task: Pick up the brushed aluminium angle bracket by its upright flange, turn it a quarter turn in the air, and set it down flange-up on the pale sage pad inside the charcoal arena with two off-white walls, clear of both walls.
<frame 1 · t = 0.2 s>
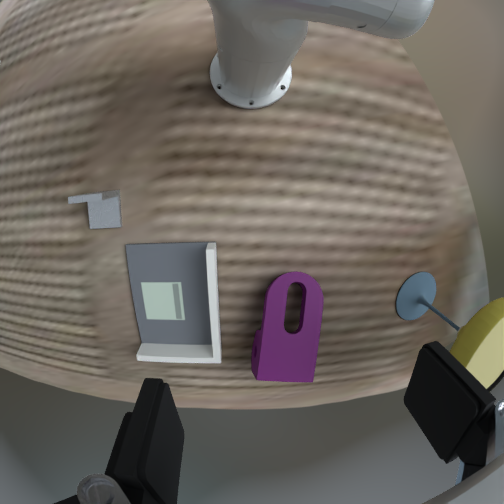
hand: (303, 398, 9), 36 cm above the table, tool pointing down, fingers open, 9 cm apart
arena: (175, 299, 46), on the table
mounting bracket: (284, 316, 49), on the table
cocktail glass: (416, 295, 50), on the table
angle bracket: (105, 209, 41), on the table
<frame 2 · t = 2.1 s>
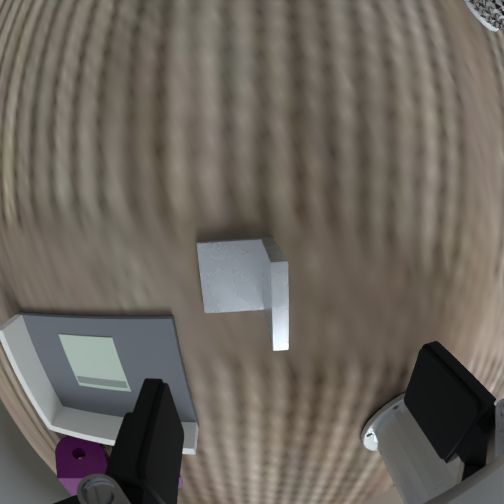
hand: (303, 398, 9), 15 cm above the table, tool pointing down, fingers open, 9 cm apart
arena: (101, 374, 25), on the table
mounting bracket: (125, 459, 31), on the table
angle bracket: (237, 274, 23), on the table
decorative candle: (478, 7, 16), on the table
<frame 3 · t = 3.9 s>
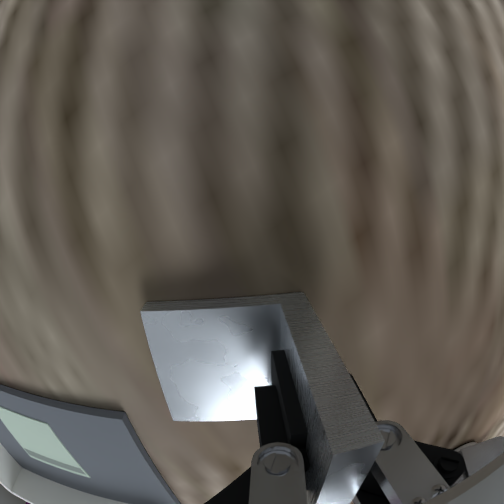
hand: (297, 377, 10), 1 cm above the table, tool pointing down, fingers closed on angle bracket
arena: (52, 452, 13), on the table
angle bracket: (230, 362, 11), on the table, touching gripper
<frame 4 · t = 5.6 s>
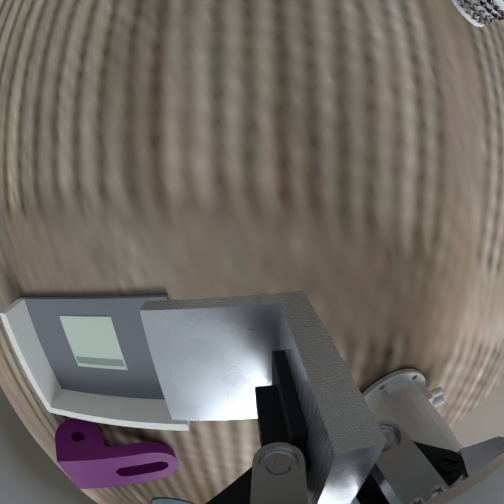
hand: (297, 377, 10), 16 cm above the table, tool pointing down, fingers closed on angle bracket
arena: (99, 354, 27), on the table
mounting bracket: (123, 442, 33), on the table
angle bracket: (229, 361, 11), point 15 cm above the table, touching gripper
decorative candle: (464, 4, 17), on the table
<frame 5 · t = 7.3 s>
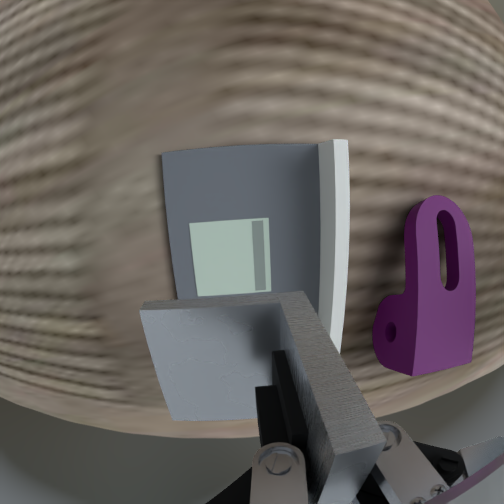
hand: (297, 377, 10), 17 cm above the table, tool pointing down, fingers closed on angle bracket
arena: (253, 255, 26), on the table
mounting bracket: (416, 272, 29), on the table
angle bracket: (229, 361, 11), point 16 cm above the table, touching gripper
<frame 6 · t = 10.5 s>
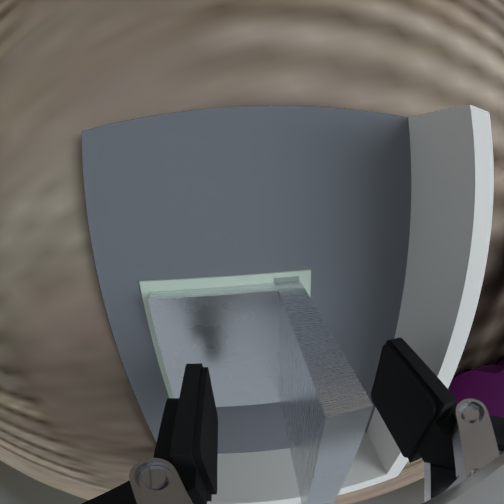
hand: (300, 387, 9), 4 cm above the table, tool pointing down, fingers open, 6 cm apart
arena: (273, 338, 13), on the table
mounting bracket: (499, 326, 15), on the table
angle bracket: (232, 348, 12), point 1 cm above the table, touching arena
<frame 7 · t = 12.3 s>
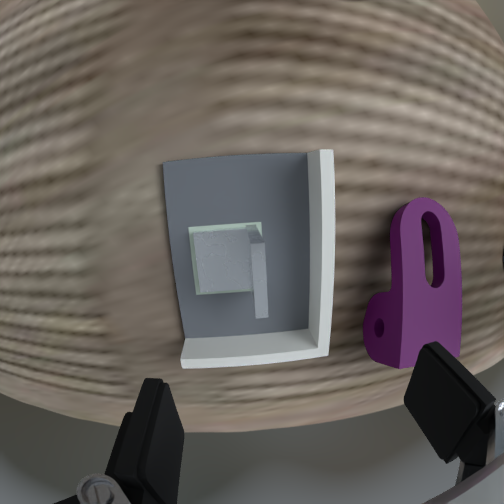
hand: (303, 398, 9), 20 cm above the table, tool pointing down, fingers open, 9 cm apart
arena: (247, 256, 28), on the table
mounting bracket: (404, 271, 31), on the table
angle bracket: (227, 258, 28), point 1 cm above the table, touching arena
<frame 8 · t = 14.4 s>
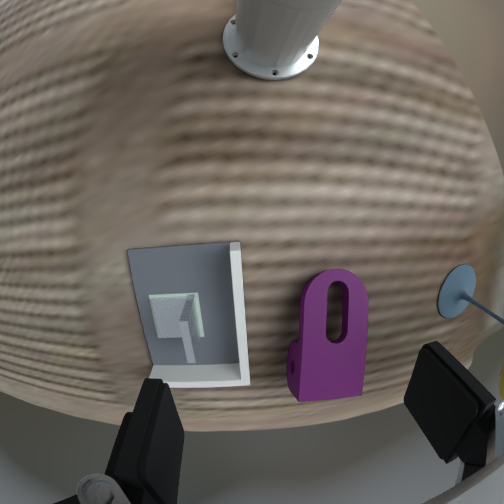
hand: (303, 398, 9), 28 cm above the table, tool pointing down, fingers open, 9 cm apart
arena: (191, 313, 38), on the table
mounting bracket: (322, 322, 41), on the table
cocktail glass: (456, 291, 42), on the table
angle bracket: (176, 316, 38), point 1 cm above the table, touching arena
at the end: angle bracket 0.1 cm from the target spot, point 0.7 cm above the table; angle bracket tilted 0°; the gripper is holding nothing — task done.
